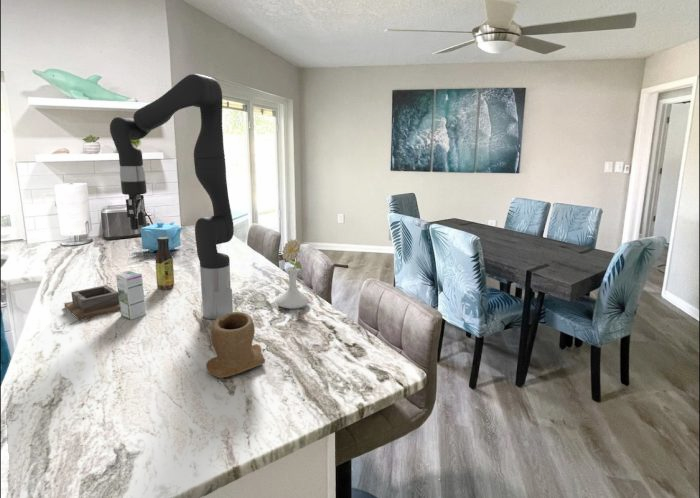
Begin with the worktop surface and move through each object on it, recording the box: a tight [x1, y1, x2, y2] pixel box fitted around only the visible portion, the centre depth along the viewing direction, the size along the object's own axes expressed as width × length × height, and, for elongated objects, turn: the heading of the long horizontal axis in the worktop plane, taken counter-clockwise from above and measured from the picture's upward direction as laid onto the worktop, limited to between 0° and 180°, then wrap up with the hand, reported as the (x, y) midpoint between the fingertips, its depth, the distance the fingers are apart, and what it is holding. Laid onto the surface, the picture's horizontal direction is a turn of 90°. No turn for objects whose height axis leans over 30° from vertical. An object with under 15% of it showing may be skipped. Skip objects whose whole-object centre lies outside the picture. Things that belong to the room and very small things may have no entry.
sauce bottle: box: [155, 237, 175, 291], centre depth 166 cm, size 6×6×20 cm
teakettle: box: [139, 221, 186, 253], centre depth 221 cm, size 19×19×15 cm
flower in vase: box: [276, 238, 310, 310], centre depth 151 cm, size 13×11×25 cm
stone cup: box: [205, 311, 266, 379], centre depth 109 cm, size 15×12×15 cm
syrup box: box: [115, 270, 147, 320], centre depth 140 cm, size 6×6×14 cm
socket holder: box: [64, 284, 120, 321], centre depth 147 cm, size 15×15×6 cm
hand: (138, 227), depth 149 cm, fingers open, 8 cm apart
